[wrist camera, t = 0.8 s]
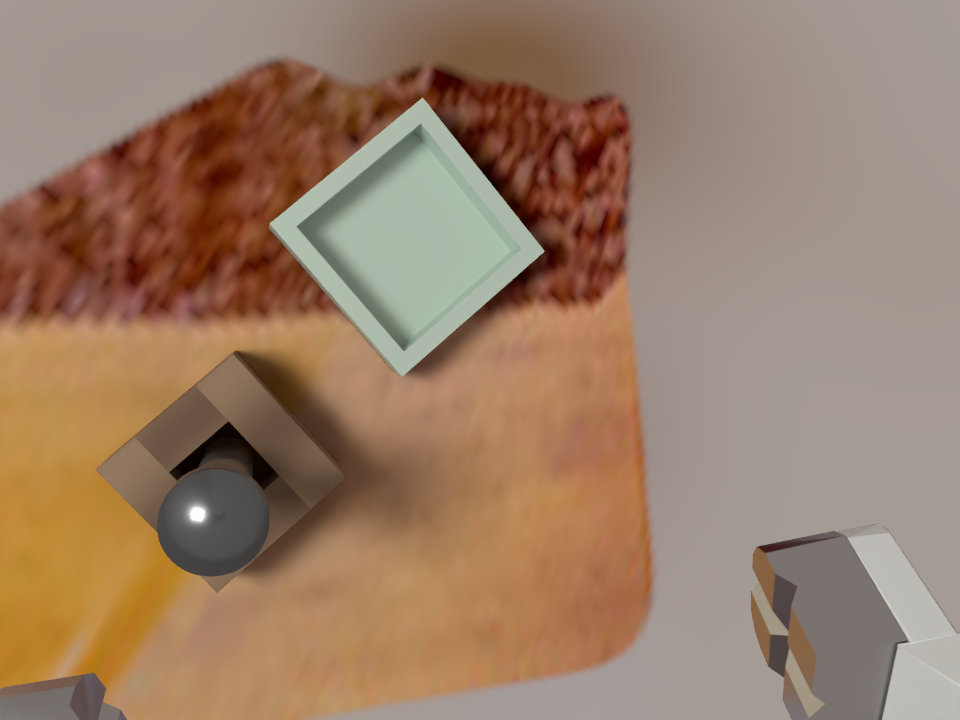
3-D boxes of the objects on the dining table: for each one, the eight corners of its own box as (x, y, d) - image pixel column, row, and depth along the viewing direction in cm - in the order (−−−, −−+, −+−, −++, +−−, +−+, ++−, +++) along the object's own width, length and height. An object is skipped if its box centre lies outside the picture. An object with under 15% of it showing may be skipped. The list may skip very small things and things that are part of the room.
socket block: (109, 457, 49) (95, 469, 45) (235, 350, 50) (233, 354, 46) (220, 571, 51) (217, 592, 47) (339, 465, 52) (346, 478, 48)
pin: (170, 459, 50) (133, 521, 35) (231, 407, 50) (219, 447, 36) (224, 515, 51) (209, 598, 36) (283, 463, 51) (291, 524, 37)
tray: (269, 228, 50) (269, 223, 48) (413, 109, 52) (422, 97, 49) (394, 372, 53) (402, 376, 50) (529, 254, 54) (544, 251, 51)
